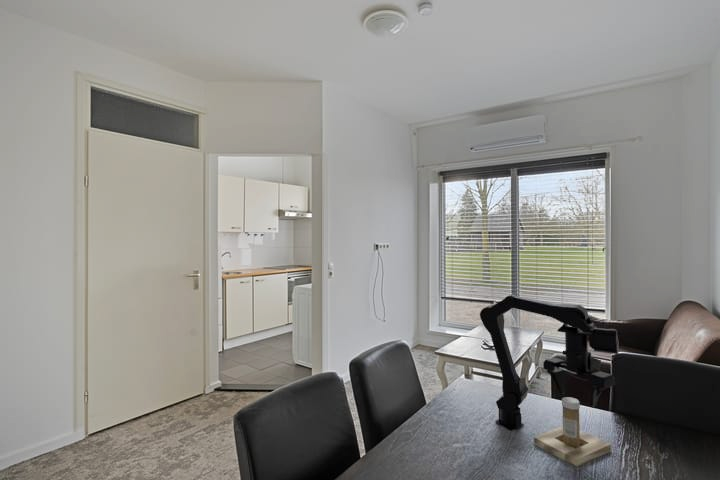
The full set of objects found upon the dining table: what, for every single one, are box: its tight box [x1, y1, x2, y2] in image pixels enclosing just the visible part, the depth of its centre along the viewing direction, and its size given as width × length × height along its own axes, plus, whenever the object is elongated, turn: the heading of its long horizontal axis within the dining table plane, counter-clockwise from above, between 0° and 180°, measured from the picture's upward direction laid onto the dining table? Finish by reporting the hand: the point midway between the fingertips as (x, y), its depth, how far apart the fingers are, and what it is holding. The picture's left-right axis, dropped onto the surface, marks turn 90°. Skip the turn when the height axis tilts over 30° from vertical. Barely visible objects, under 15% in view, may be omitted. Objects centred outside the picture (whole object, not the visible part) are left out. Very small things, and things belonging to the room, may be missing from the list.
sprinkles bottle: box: [561, 396, 581, 449], centre depth 108 cm, size 5×5×14 cm
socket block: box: [533, 425, 612, 468], centre depth 108 cm, size 13×16×2 cm
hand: (577, 400), depth 109 cm, fingers open, 9 cm apart
